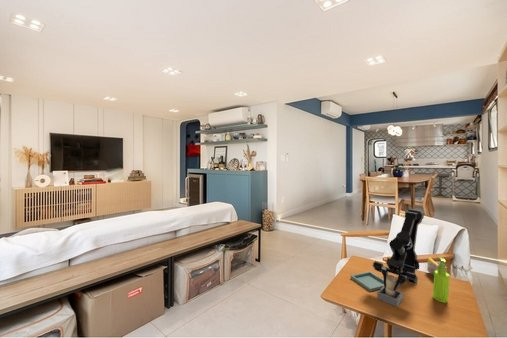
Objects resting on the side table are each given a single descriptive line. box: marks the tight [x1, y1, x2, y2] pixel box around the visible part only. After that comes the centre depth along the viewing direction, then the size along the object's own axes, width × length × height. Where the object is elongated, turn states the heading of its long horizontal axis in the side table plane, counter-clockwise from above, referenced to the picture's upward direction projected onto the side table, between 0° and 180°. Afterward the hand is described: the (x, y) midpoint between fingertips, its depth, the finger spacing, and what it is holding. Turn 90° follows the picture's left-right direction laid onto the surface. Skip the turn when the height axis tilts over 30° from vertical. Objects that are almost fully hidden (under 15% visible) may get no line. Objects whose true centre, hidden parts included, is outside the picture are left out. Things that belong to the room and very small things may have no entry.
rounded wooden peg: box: [385, 274, 397, 298], centre depth 116 cm, size 4×4×11 cm
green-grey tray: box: [350, 270, 384, 292], centre depth 131 cm, size 14×14×2 cm
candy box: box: [426, 257, 439, 277], centre depth 138 cm, size 16×2×8 cm, turn 168°
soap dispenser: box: [432, 256, 451, 303], centre depth 117 cm, size 6×7×20 cm
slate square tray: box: [376, 286, 404, 308], centre depth 116 cm, size 9×9×4 cm
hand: (389, 288), depth 115 cm, fingers closed on rounded wooden peg, 4 cm apart
